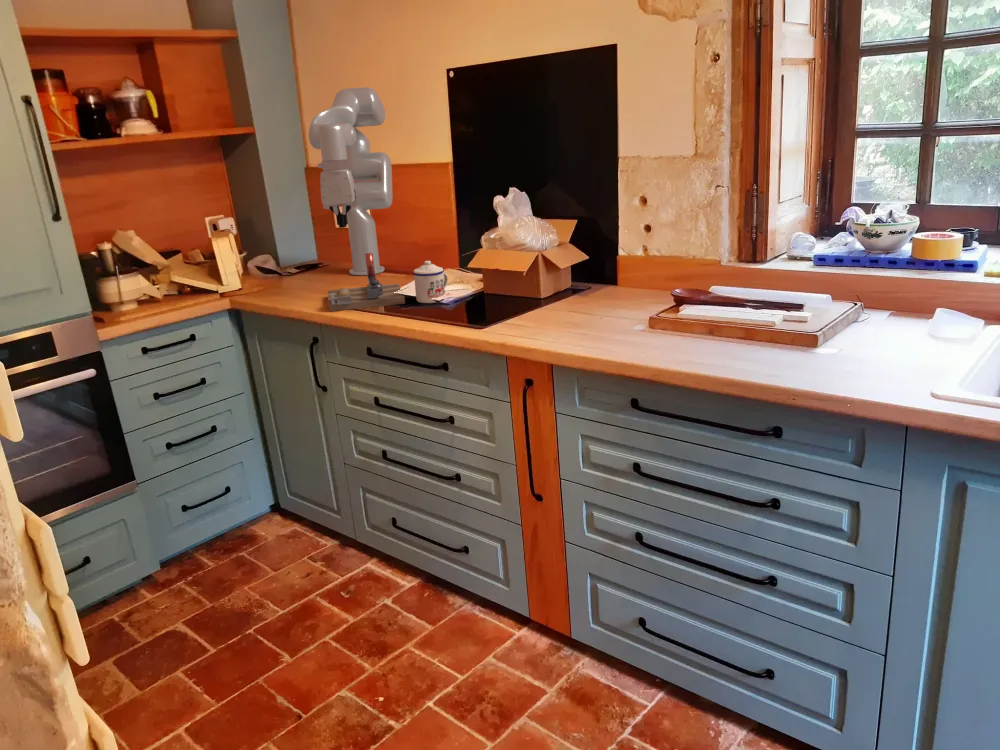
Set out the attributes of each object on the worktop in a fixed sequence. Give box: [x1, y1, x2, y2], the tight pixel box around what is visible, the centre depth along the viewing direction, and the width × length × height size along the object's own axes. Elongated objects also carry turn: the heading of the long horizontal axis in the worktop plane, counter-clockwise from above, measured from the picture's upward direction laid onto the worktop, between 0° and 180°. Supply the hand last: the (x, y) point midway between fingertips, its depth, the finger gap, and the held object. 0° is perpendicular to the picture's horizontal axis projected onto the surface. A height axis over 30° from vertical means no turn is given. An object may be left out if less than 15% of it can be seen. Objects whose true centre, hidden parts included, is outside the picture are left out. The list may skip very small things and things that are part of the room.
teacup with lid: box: [412, 260, 449, 304], centre depth 225 cm, size 12×9×12 cm
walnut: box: [336, 287, 350, 297], centre depth 221 cm, size 4×4×4 cm
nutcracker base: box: [327, 279, 406, 312], centre depth 229 cm, size 21×22×6 cm
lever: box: [365, 253, 383, 299], centre depth 230 cm, size 23×5×10 cm, turn 13°
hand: (342, 227), depth 236 cm, fingers closed
